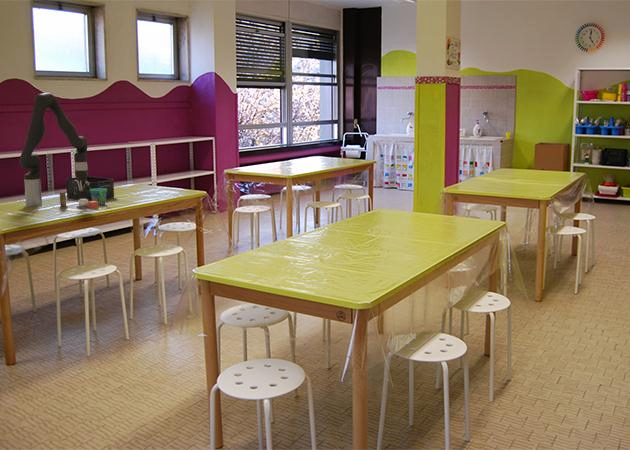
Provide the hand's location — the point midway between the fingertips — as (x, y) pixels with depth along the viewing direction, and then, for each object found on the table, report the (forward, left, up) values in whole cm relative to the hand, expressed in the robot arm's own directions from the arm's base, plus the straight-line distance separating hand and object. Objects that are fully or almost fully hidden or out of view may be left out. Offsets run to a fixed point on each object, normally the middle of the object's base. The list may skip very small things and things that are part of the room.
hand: (83, 197), depth 416 cm
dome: (0, 0, -5) cm, 5 cm away
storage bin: (-32, +30, -8) cm, 44 cm away
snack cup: (-4, +15, -8) cm, 17 cm away
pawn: (-7, -9, -6) cm, 13 cm away
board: (0, -4, -7) cm, 9 cm away
